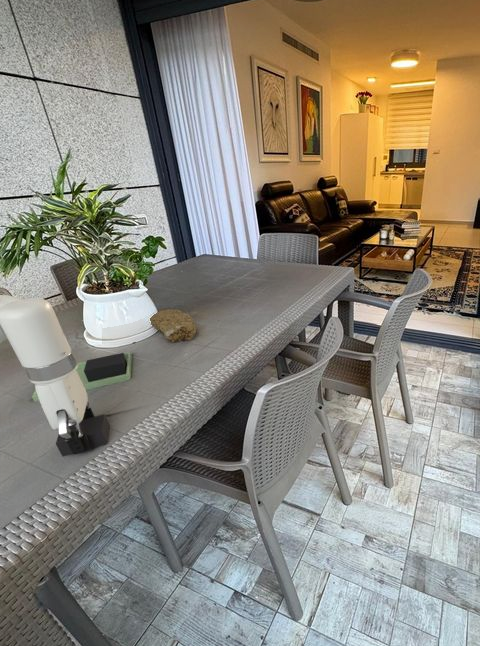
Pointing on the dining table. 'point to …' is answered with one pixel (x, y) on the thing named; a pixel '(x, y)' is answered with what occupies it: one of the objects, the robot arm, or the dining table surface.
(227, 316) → the dining table surface
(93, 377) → the pad
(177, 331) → the sponge
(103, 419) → the pad
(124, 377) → the tray
